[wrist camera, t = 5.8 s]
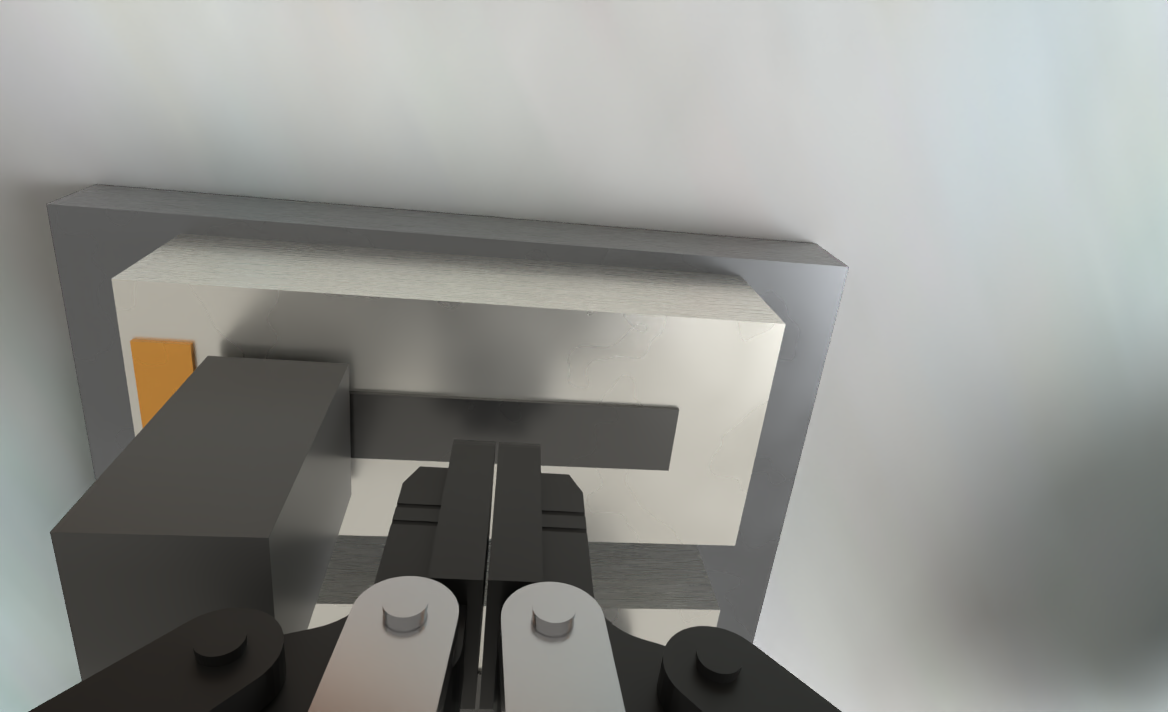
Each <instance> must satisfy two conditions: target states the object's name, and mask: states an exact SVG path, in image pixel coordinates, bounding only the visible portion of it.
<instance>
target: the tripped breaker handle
mask: <svg viewBox="0 0 1168 712" xmlns="http://www.w3.org/2000/svg"><path fill="white" fill-rule="evenodd" d="M351 495H352V493H351V443H350V393H349V364H348V363H330V362H312V361H294V360H276V359H258V358H240V357H222V356H207V357H206V358H205V359H204V361H203V362H202V363H201V364H200V365H199V366H198V367H197V368H196V370H195V371H194V372H193V373H192V374H191V375H190V376H189V377H188V378H187V380H186V381H185V382H184V383H183V384H182V385H181V386H180V387H179V389H178V390H177V391H176V392H175V393H174V394H173V395H172V396H171V397H170V399H169V400H168V401H167V402H166V403H165V404H164V405H163V406H162V408H161V409H160V410H159V411H158V412H157V413H156V414H155V415H154V416H153V418H152V419H151V420H150V421H149V422H148V423H147V424H146V425H145V427H144V428H143V429H142V430H141V431H140V432H139V433H138V434H137V436H136V437H135V438H134V439H133V440H132V441H131V442H130V443H129V444H128V446H127V447H126V448H125V449H124V450H123V451H122V452H121V453H120V455H119V456H118V457H117V458H116V459H115V460H114V461H113V462H112V463H111V465H110V466H109V467H108V468H107V469H106V470H105V471H104V472H103V474H102V475H101V476H100V477H99V478H98V479H97V480H96V481H95V482H94V484H93V485H92V486H91V487H90V488H89V489H88V490H87V491H86V493H85V494H84V495H83V496H82V497H81V498H80V499H79V500H78V501H77V503H76V504H75V505H74V506H73V507H72V508H71V509H70V510H69V512H68V513H67V514H66V515H65V516H64V517H63V518H62V519H61V521H60V522H59V523H58V524H57V525H56V526H55V527H54V528H53V529H52V531H51V532H50V534H51V539H52V543H53V548H54V553H55V557H56V562H57V567H58V571H59V576H60V581H61V585H62V590H63V595H64V599H65V604H66V609H67V613H68V618H69V623H70V627H71V632H72V637H73V641H74V646H75V651H76V655H77V660H78V665H79V669H80V674H81V679H82V681H84V680H85V679H87V678H89V677H91V676H92V675H94V674H96V673H98V672H99V671H101V670H103V669H105V668H107V667H108V666H110V665H112V664H114V663H115V662H117V661H119V660H121V659H122V658H124V657H126V656H128V655H129V654H131V653H133V652H135V651H137V650H138V649H140V648H142V647H144V646H145V645H147V644H149V643H151V642H152V641H154V640H156V639H158V638H160V637H161V636H163V635H165V634H167V633H168V632H170V631H172V630H174V629H175V628H177V627H179V626H181V625H182V624H184V623H186V622H188V621H190V620H192V619H194V618H196V617H198V616H200V615H203V614H206V613H208V612H212V611H216V610H219V609H226V608H239V607H241V608H251V609H256V610H260V611H262V612H265V613H267V614H269V615H270V616H272V617H273V618H274V619H275V620H276V621H277V622H278V623H279V624H280V626H281V628H282V631H283V634H288V633H292V632H297V631H302V630H307V629H308V626H309V623H310V620H311V617H312V614H313V611H314V608H315V605H316V602H317V599H318V596H319V593H320V589H321V586H322V583H323V580H324V577H325V574H326V571H327V568H328V565H329V562H330V559H331V556H332V553H333V550H334V547H335V544H336V541H337V537H338V534H339V531H340V528H341V525H342V522H343V519H344V516H345V513H346V510H347V507H348V504H349V501H350V498H351Z"/></svg>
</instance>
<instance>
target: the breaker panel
mask: <svg viewBox="0 0 1168 712" xmlns="http://www.w3.org/2000/svg"><path fill="white" fill-rule="evenodd" d="M46 205H47V210H48V216H49V222H50V227H51V233H52V238H53V244H54V250H55V255H56V261H57V266H58V272H59V277H60V283H61V289H62V294H63V300H64V305H65V311H66V317H67V322H68V328H69V333H70V339H71V345H72V350H73V356H74V361H75V367H76V372H77V378H78V384H79V389H80V395H81V400H82V406H83V412H84V417H85V423H86V428H87V434H88V440H89V445H90V451H91V456H92V462H93V468H94V473H95V479H96V480H97V479H98V478H99V477H100V476H101V475H102V474H103V472H104V471H105V470H106V469H107V468H108V467H109V466H110V465H111V463H112V462H113V461H114V460H115V459H116V458H117V457H118V456H119V455H120V453H121V452H122V451H123V450H124V449H125V448H126V447H127V446H128V444H129V443H130V442H131V441H132V440H133V439H134V438H135V437H136V436H137V434H138V433H139V432H140V431H141V430H142V429H143V428H144V427H145V425H146V424H147V423H148V422H149V421H150V420H151V419H152V418H153V416H154V415H155V414H156V413H157V412H158V411H159V410H160V409H161V408H162V406H163V405H164V404H165V403H166V402H167V401H168V400H169V399H170V397H171V396H172V395H173V394H174V393H175V392H176V391H177V390H178V389H179V387H180V386H181V385H182V384H183V383H184V382H185V381H186V380H187V378H188V377H189V376H190V375H191V374H192V373H193V372H194V371H195V370H196V368H197V367H198V366H199V365H200V364H201V363H202V362H203V361H204V359H205V358H206V357H207V356H222V357H240V358H258V359H276V360H294V361H312V362H330V363H348V364H349V393H350V443H351V493H352V495H351V498H350V501H349V504H348V507H347V510H346V513H345V516H344V519H343V522H342V525H341V528H340V531H339V534H338V537H337V541H336V544H335V547H334V550H333V553H332V556H331V559H330V562H329V565H328V568H327V571H326V574H325V577H324V580H323V583H322V586H321V589H320V593H319V596H318V599H317V602H316V605H315V608H314V611H313V614H312V617H311V620H310V623H309V626H308V629H312V628H316V627H320V626H324V625H327V624H330V623H333V622H335V621H338V620H340V619H342V618H344V617H346V616H347V615H349V613H350V611H351V608H352V606H353V604H354V602H355V601H356V599H357V598H358V597H359V596H360V595H361V594H362V593H363V592H364V591H365V590H366V589H368V588H370V587H371V586H373V585H374V582H375V579H376V575H377V572H378V568H379V565H380V561H381V558H382V554H383V551H384V547H385V544H386V540H387V536H388V533H389V529H390V526H391V524H392V519H393V515H394V512H395V508H396V507H397V501H398V498H399V494H400V491H401V487H402V483H403V482H404V481H405V480H406V479H407V478H408V477H409V476H411V475H412V474H413V473H414V472H415V471H416V470H417V469H418V468H419V467H420V466H423V467H441V468H448V467H449V461H450V456H451V451H452V446H453V441H454V439H458V440H474V441H491V442H496V447H495V463H494V478H493V493H492V507H491V522H490V536H489V549H488V561H487V573H486V584H485V596H484V608H483V620H482V632H481V643H480V655H479V667H478V679H477V691H476V702H475V709H460V712H493V709H479V704H480V689H481V675H482V660H483V645H484V631H485V616H486V601H487V586H488V573H489V561H490V548H491V536H492V523H493V511H494V498H495V486H496V474H497V461H498V449H499V442H511V443H528V444H540V447H541V473H552V474H569V475H570V476H571V478H572V479H573V480H574V482H575V483H576V484H577V486H578V487H579V488H580V489H581V491H582V492H583V499H584V508H585V517H586V527H587V536H588V546H589V555H590V564H591V574H592V583H593V592H594V598H595V600H596V602H597V603H598V604H599V606H600V607H601V609H602V611H603V614H604V616H605V617H606V619H607V620H608V621H610V622H611V623H612V624H613V625H614V626H616V627H617V628H619V629H620V630H622V631H624V632H626V633H628V634H630V635H632V636H635V637H638V638H641V639H644V640H647V641H651V642H654V643H658V644H661V645H664V646H666V644H667V642H668V641H669V640H670V638H671V637H672V636H674V635H675V634H676V633H678V632H679V631H681V630H683V629H687V628H690V627H696V626H711V627H718V628H722V629H726V630H728V631H731V632H734V633H736V634H738V635H740V636H742V637H743V638H745V639H746V640H748V641H749V642H751V643H752V644H753V640H754V636H755V632H756V628H757V624H758V620H759V616H760V613H761V609H762V605H763V601H764V597H765V593H766V589H767V585H768V581H769V577H770V573H771V570H772V566H773V562H774V558H775V554H776V550H777V546H778V542H779V538H780V534H781V531H782V527H783V523H784V519H785V515H786V511H787V507H788V503H789V499H790V495H791V491H792V488H793V484H794V480H795V476H796V472H797V468H798V464H799V460H800V456H801V452H802V449H803V445H804V441H805V437H806V433H807V429H808V425H809V421H810V417H811V413H812V410H813V406H814V402H815V398H816V394H817V390H818V386H819V382H820V378H821V374H822V370H823V367H824V363H825V359H826V355H827V351H828V347H829V343H830V339H831V335H832V331H833V328H834V324H835V320H836V316H837V312H838V308H839V304H840V300H841V296H842V292H843V288H844V285H845V281H846V277H847V273H848V269H849V267H848V266H847V265H845V264H844V263H843V262H841V261H840V260H838V259H837V258H836V257H834V256H833V255H831V254H830V253H829V252H827V251H826V250H824V249H823V248H821V247H820V246H819V245H817V244H814V243H802V242H790V241H778V240H766V239H753V238H741V237H729V236H717V235H705V234H693V233H681V232H668V231H656V230H644V229H632V228H620V227H608V226H596V225H584V224H571V223H559V222H547V221H535V220H523V219H511V218H499V217H486V216H474V215H462V214H450V213H438V212H426V211H414V210H402V209H389V208H377V207H365V206H353V205H341V204H329V203H317V202H304V201H292V200H280V199H268V198H256V197H244V196H232V195H220V194H207V193H195V192H183V191H171V190H159V189H147V188H135V187H122V186H110V185H98V184H96V185H93V186H91V187H88V188H86V189H83V190H80V191H78V192H75V193H73V194H70V195H68V196H65V197H63V198H60V199H58V200H55V201H53V202H50V203H48V204H46Z"/></svg>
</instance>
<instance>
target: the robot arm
mask: <svg viewBox="0 0 1168 712" xmlns="http://www.w3.org/2000/svg"><path fill="white" fill-rule="evenodd" d="M495 447H496V442H491V441H474V440H458V439H454V441H453V446H452V451H451V456H450V461H449V467H448V468H441V467H423V466H420V467H419V468H418V469H417V470H416V471H415V472H414V473H413V474H412V475H411V476H409V477H408V478H407V479H406V480H405V481H404V482H403V483H402V487H401V491H400V494H399V498H398V501H397V507H396V508H395V512H394V515H393V519H392V524H391V526H390V529H389V533H388V536H387V540H386V544H385V547H384V551H383V554H382V558H381V561H380V565H379V568H378V572H377V575H376V579H375V582H374V585H373V586H371V587H370V588H368V589H366V590H365V591H364V592H363V593H362V594H361V595H360V596H359V597H358V598H357V599H356V601H355V602H354V604H353V606H352V608H351V611H350V613H349V615H347V616H346V617H344V618H342V619H340V620H338V621H335V622H333V623H330V624H327V625H324V626H320V627H316V628H312V629H307V630H302V631H297V632H292V633H288V634H283V631H282V628H281V626H280V624H279V623H278V622H277V621H276V620H275V619H274V618H273V617H272V616H270V615H269V614H267V613H265V612H262V611H260V610H256V609H251V608H241V607H239V608H226V609H219V610H216V611H212V612H208V613H206V614H203V615H200V616H198V617H196V618H194V619H192V620H190V621H188V622H186V623H184V624H182V625H181V626H179V627H177V628H175V629H174V630H172V631H170V632H168V633H167V634H165V635H163V636H161V637H160V638H158V639H156V640H154V641H152V642H151V643H149V644H147V645H145V646H144V647H142V648H140V649H138V650H137V651H135V652H133V653H131V654H129V655H128V656H126V657H124V658H122V659H121V660H119V661H117V662H115V663H114V664H112V665H110V666H108V667H107V668H105V669H103V670H101V671H99V672H98V673H96V674H94V675H92V676H91V677H89V678H87V679H85V680H84V681H82V682H80V683H78V684H76V685H75V686H73V687H71V688H69V689H68V690H66V691H64V692H62V693H61V694H59V695H57V696H55V697H54V698H52V699H50V700H48V701H46V702H45V703H43V704H41V705H39V706H38V707H36V708H34V709H32V710H31V711H29V712H460V709H475V702H476V691H477V679H478V667H479V655H480V643H481V632H482V620H483V608H484V596H485V584H486V573H487V561H488V549H489V536H490V522H491V507H492V493H493V478H494V463H495ZM479 709H493V712H841V711H840V710H839V709H837V708H836V707H835V706H833V705H832V704H831V703H830V702H828V701H827V700H826V699H824V698H823V697H822V696H820V695H819V694H818V693H816V692H815V691H814V690H812V689H811V688H810V687H808V686H807V685H806V684H805V683H803V682H802V681H801V680H799V679H798V678H797V677H795V676H794V675H793V674H791V673H790V672H789V671H787V670H786V669H785V668H784V667H782V666H781V665H780V664H778V663H777V662H776V661H774V660H773V659H772V658H770V657H769V656H768V655H766V654H765V653H764V652H763V651H761V650H760V649H759V648H757V647H756V646H755V645H753V644H752V643H751V642H749V641H748V640H746V639H745V638H743V637H742V636H740V635H738V634H736V633H734V632H731V631H728V630H726V629H722V628H718V627H711V626H696V627H690V628H687V629H683V630H681V631H679V632H678V633H676V634H675V635H674V636H672V637H671V638H670V640H669V641H668V642H667V644H666V646H664V645H661V644H658V643H654V642H651V641H647V640H644V639H641V638H638V637H635V636H632V635H630V634H628V633H626V632H624V631H622V630H620V629H619V628H617V627H616V626H614V625H613V624H612V623H611V622H610V621H608V620H607V619H606V617H605V616H604V614H603V611H602V609H601V607H600V606H599V604H598V603H597V602H596V600H595V598H594V592H593V583H592V574H591V564H590V555H589V546H588V536H587V527H586V517H585V508H584V499H583V492H582V491H581V489H580V488H579V487H578V486H577V484H576V483H575V482H574V480H573V479H572V478H571V476H570V475H569V474H552V473H541V447H540V444H528V443H511V442H499V449H498V461H497V474H496V486H495V498H494V511H493V523H492V536H491V548H490V561H489V573H488V586H487V601H486V616H485V631H484V645H483V660H482V675H481V689H480V704H479Z"/></svg>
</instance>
